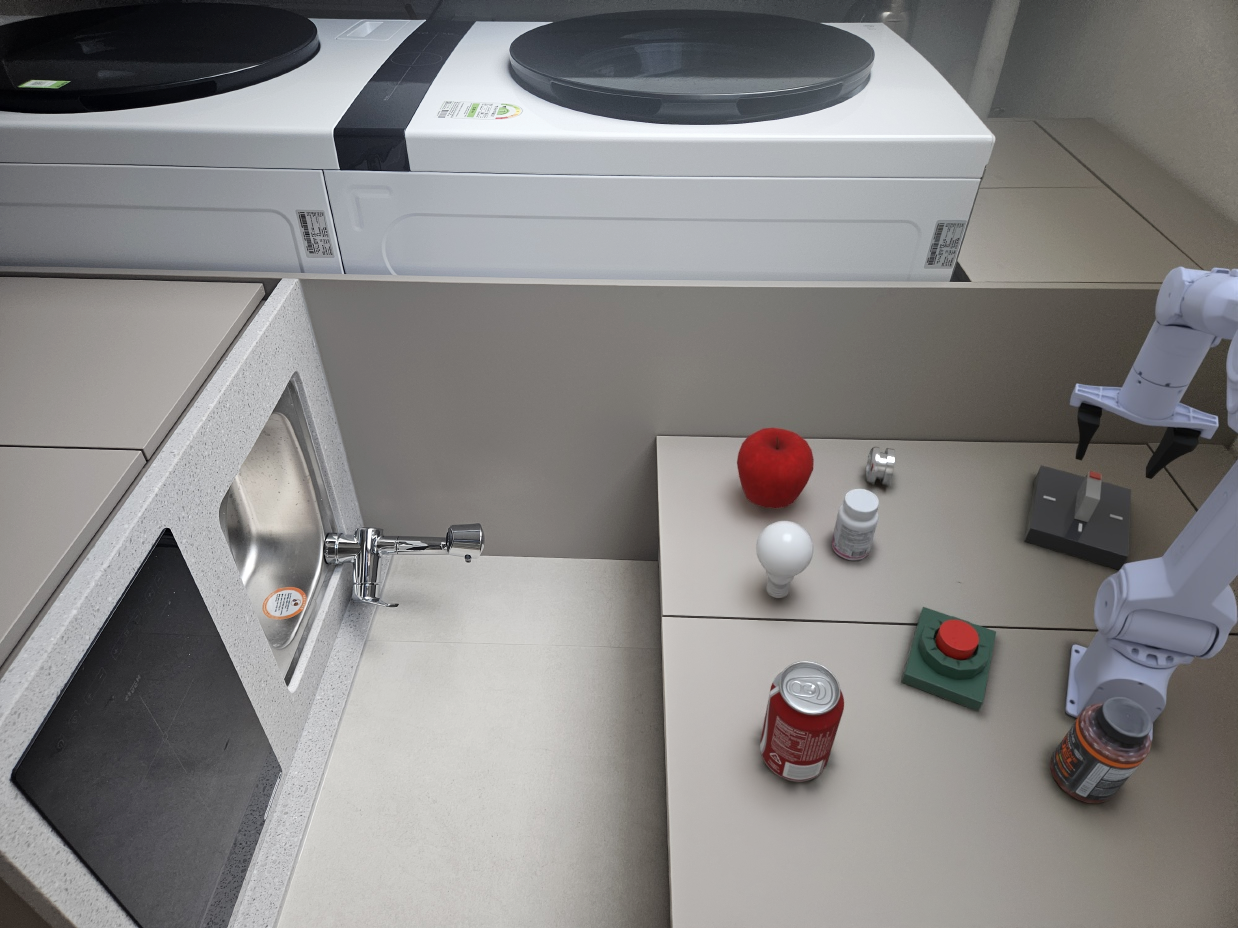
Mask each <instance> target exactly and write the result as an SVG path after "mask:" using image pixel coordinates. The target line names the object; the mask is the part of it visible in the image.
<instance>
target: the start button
mask: <svg viewBox="0 0 1238 928" xmlns="http://www.w3.org/2000/svg"><path fill="white" fill-rule="evenodd" d="M978 642H979V637H978V634H977V632H976V631H975V629H974V628H973V627H972V626H970V625H969V624H967V623H965V622H963V621H960V620H948V621H945V622H944V623H943V624H942V625H941V626H940V629H939V631H938V633H937V636H936V644H937V646H938V648H939V650H940V651H941V652H942V653H943V654H945V655H946V656H948V657H950V658H953V659H957V660H964V659H967V658H969V657H971V656H972V655H973V653H974V651H975V649H976V647H977V645H978Z"/></svg>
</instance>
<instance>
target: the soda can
mask: <svg viewBox="0 0 1238 928" xmlns="http://www.w3.org/2000/svg"><path fill="white" fill-rule="evenodd" d="M844 709H845V698H844V694H843V692H842V689H841V686H840V682H839V680H838V678H837V677H836V675H835V674H834V672H833V671H831V670H830V669H829V668H827V667H826V666H825V665H822V664H821V663H818V662H815V661H811V660H801V661H795V662H793V663H791V664H789V665H788V666H786V667H785V668H784V669H783V670H782V671H781V672H779V673H778V674H777V675H776V677H775V678H774V679H773V681H772V683H771V685H770V688H769V695H768V700H767V704H766V710H765V715H764V721H763V726H762V730H761V736H760V740H759V750H760V755H761V757H762V759H763V761H764V763H765V764H766V767H768V768H769V769H770V771H771V772H773V773H774V774H775V775H777V777H780V778H781V779H784V780H787V781H790V782H797V783H800V782H807V781H811V780H814V779H815V778H817V777H819V775H821V774H822V773H823V771H824V770H825V768H826V767H827V765H828V761H829V758H830V755H831V752H832V748H833V746H834V742H835V739H836V736H837V733H838V729H839V726H840V724H841V720H842V717H843V714H844Z"/></svg>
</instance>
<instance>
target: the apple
mask: <svg viewBox="0 0 1238 928" xmlns="http://www.w3.org/2000/svg"><path fill="white" fill-rule="evenodd" d="M814 463H815V461H814V454H813V449H812V448H811V447H810V445H809V443H808V441H807V440H806V439H804V438H803V437H801V436H800V435H799V434H798V433H796V432H794V431H791V430H787V429H785V428H779V427H765V428H764V427H763V428H761V429H760V430H757V431H755V432H753V433H752V434H749V435H748V436H747V437H746V438H745V439H744V440H743V442H742V443H741V445H740V448H739V451H738V452H737V459H736V465H737V472H738V473H737V474H738V478H739V481H740V485H741V487H742V491H743V493H744V495H745V497H746V499H747V500H748V501H749V502H751V503H753V504H754V505H755V506H759V507H761V508H762V507H763V508H765V509H766V508H767V509H781V508H787V507H789V506H790V505H793V504H794V502H795V501H796V500H797V499H798V498H799V496H800V495H801V494H802V492H803V490H804V489H805V488H806V486H807V485H808V483H809V481H810V479H811V476H812V474H813V472H814V465H815V464H814Z"/></svg>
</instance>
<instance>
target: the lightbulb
mask: <svg viewBox="0 0 1238 928" xmlns="http://www.w3.org/2000/svg"><path fill="white" fill-rule="evenodd" d="M756 540H757V541H756V544H755V545H756V546H755V550H756V552H755V553H756V556H757V559H758V562H759V563H760V565H761V567H762V568H763V569H764V570H765V573H766V576H767V580H766V584H765V585H766V586H765V590H766V593H767V594H768V595H769V596H771V597H773V598H776V599H782V598H785V597H786V596H788V594H789V593H790V592H789V591H790V586H791V582H792V581H793V579H794V578H795V577H796V576H798V575H799V574H801V573H802V572H804V571H805V570H806V569H807V568H808V567H809V565H810V564H811V561H812V559H813V556H814V542H813V539H812V537H811V534H809V532H808V531H807V530H806V529H805V528H804V527H803V526H802V525H800V524H799V523H797V522H795V521H791V520H778V521H774V522H772V523H770V524H769V525H767V526H765V527H764V528H763V529H762V530H761V532H760V534H759V536H758V537H757V539H756Z"/></svg>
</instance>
